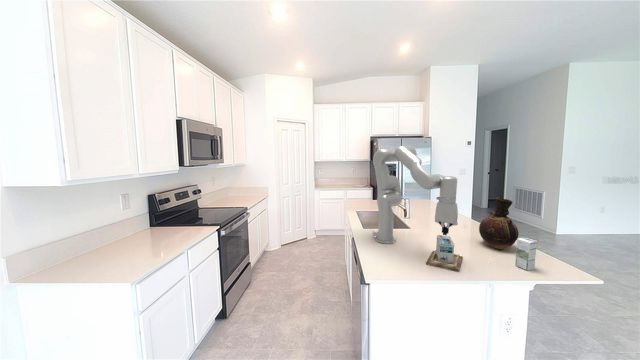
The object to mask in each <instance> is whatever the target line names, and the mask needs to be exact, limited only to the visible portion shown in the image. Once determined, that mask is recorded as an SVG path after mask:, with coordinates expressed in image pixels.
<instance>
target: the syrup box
mask: <svg viewBox="0 0 640 360" xmlns="http://www.w3.org/2000/svg"><path fill="white" fill-rule="evenodd" d="M537 244H538V241H537V240H536V239H535V240H534V239H531V238H529V237H518V238H517V240H516V253H515V264H514V265H515V267H518V268H519V269H523V270H525V271H528V272H529V271H532V270H535V268H536V255H537V247H538V246H537Z"/></svg>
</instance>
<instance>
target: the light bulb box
mask: <svg viewBox="0 0 640 360" xmlns="http://www.w3.org/2000/svg"><path fill="white" fill-rule="evenodd" d="M435 248H436V249H435V250H436V254H437V257H438V260H439V262H443V263H451V264H453V255H454V254H455V243H454V241H453V240H452V238H451V236H450V235H443V234H436V246H435Z"/></svg>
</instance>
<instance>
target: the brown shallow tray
mask: <svg viewBox="0 0 640 360" xmlns="http://www.w3.org/2000/svg"><path fill="white" fill-rule="evenodd" d="M463 259H464V256H463V255H460V254H458V253H454V255H453V264H451V263H443V262H439V260H438V257H437V254H436V249H435V250H432V251H431V253H430V255H429V257H427V260H426V262H425V264H426V266H431V267H435V268H439V269H444V270H448V271H453V272H456V273H460V270H461V267H462V262H463Z"/></svg>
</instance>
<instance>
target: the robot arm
mask: <svg viewBox="0 0 640 360" xmlns="http://www.w3.org/2000/svg"><path fill="white" fill-rule="evenodd" d="M372 162H373V163H372V164H373V168H374V171H375V179H376V186H377V189H378V190H379V191H381V192H383V193H380V194H379V195H378V196H377V198H376V202H377V210H378V214H377V215H378V217H377V218H378V224H377V225H378V226H377V229H378V230H377V232H376V231H372V236H374V237H375V241H376V242H377V243H380V244H384V245H385V244H386V245H388V244H389V245H390V244H394V243H396V238H395V237H394V217H395V216H394V210H393V208H394V207H396V206H399V205H400V204H402V203H401V202H402V199H403V196H402V188H401V183H400V180H399V178H398V177H397V176H395V175H392V174H390V170H389V167H388V165H387V164H386V163H389V162H400V163H401V164H402V165H403V166H404V167H406V168H407V170H409V172H410V175H411V178H412V179H413V181H415V182H416V184H418V185H419V186H420V187H421V188H422V189H425V190H427V191H428V190H429V191H430V190H434V189H439V196H436V200H438V201H437V203H436V207H435V213H434V223H436V224H439V226H441V233H442V235H444V236H448V235H449V230H450V227H452V226H458V218H459V217H458V215H459V214H458V213H459V212H458V211H459V210H458V204H457V202H456V201H457V189H458V178H457V177H456V176H451V175H450V176H449V175H442V174H428V172H426V171H425V170H423V169H422V167H421V166H422V162H423V161H422V159H421V158H420V157H419V156H418V155H417V151H416V148H415V147H414V146H412V145H399V146H397V147H395V148H380V149H378V150H377V151H375V152H374V155H373V157H372ZM384 191H385V192H384ZM386 191H388V192H386ZM392 207H393V208H392ZM445 223H446V225H445Z"/></svg>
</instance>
